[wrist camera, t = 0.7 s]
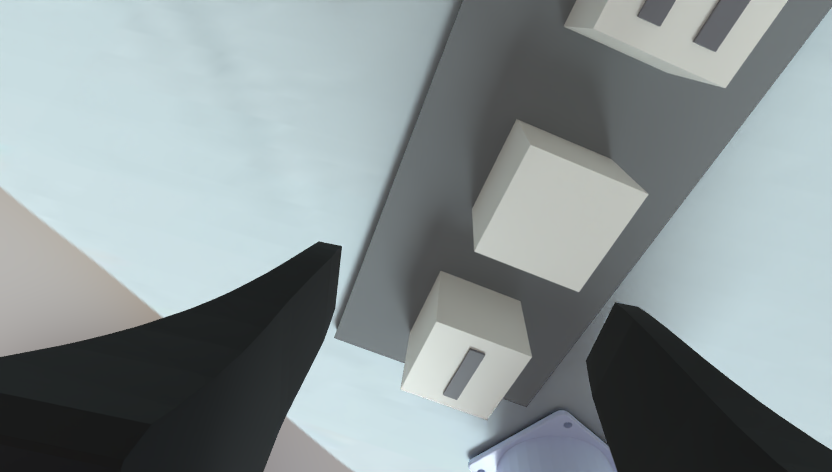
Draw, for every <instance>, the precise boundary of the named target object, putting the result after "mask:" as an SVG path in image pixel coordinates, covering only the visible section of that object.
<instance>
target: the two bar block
mask: <svg viewBox="0 0 832 472" xmlns="http://www.w3.org/2000/svg"><path fill="white" fill-rule="evenodd" d="M787 1H788V0H576V2H575V4H574V6H573V8H572V10H571V12H570V14H569V16H568V18H567V20H566V22H565V24H564V27H566V28H568V29H570V30H573V31H575V32H577V33H579V34H581V35H584V36H586V37H588V38H590V39H593V40H595V41H597V42H599V43H602V44H604V45H606V46H608V47H610V48H613V49H615V50H617V51H619V52H622V53H624V54H626V55H628V56H631V57H633V58H635V59H637V60H639V61H642V62H644V63H646V64H648V65H651V66H653V67H655V68H657V69H660V70H662V71H664V72H666V73H669V74H673V75H677V76H681V77H685V78H688V79H692V80H696V81H700V82H704V83H707V84H711V85H715V86H719V87H722V88H726V87H727V85H728V84H729V82H730V81H731V80H732V78H733V77H734V75H735V74H736V73H737V71H738V70H739V68H740V67H741V66H742V64H743V63H744V61H745V60H746V59H747V57H748V56H749V54H750V53H751V52H752V50H753V49H754V47H755V46H756V45H757V43H758V42H759V40H760V39H761V38H762V36H763V35H764V33H765V32H766V31H767V29H768V28H769V26H770V25H771V24H772V22H773V21H774V19H775V18H776V17H777V15H778V14H779V12H780V11H781V10H782V8H783V7H784V5H785V4H786V3H787Z"/></svg>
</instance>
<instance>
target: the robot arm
mask: <svg viewBox="0 0 832 472" xmlns="http://www.w3.org/2000/svg"><path fill="white" fill-rule="evenodd" d="M341 250H342V246H338V245H333V244H329V243H324V242H317V243H316V244H314V245H312V246H311V247H309V248H307V249H306V250H304V251H303V252H301V253H299V254H298V255H296V256H295V257H293V258H291V259H290V260H288V261H286V262H285V263H283V264H281V265H280V266H278V267H276V268H275V269H273V270H271V271H270V272H268V273H266V274H264V275H262V276H260V277H258V278H257V279H255V280H253V281H251V282H249V283H247V284H245V285H243V286H241V287H239V288H237V289H235V290H233V291H231V292H229V293H227V294H225V295H223V296H220V297H218V298H216V299H213V300H211V301H208V302H206V303H204V304H201V305H199V306H196V307H194V308H191V309H188V310H186V311H183V312H180V313H177V314H174V315H171V316H168V317H165V318H162V319H159V320H156V321H153V322H150V323H147V324H144V325H141V326H137V327H134V328H130V329H126V330H123V331H119V332H116V333H112V334H108V335H104V336H100V337H96V338H92V339H88V340H84V341H79V342H75V343H70V344H66V345H61V346H56V347H51V348H46V349H40V350H35V351H30V352H25V353H20V354H14V355H9V356H4V357H0V472H263V471H264V468H265V466H266V463H267V461H268V458H269V456H270V453H271V450H272V448H273V445H274V443H275V440H276V438H277V435H278V433H279V430H280V428H281V425H282V423H283V421H284V419H285V417H286V415H287V413H288V411H289V409H290V407H291V405H292V403H293V401H294V399H295V397H296V395H297V393H298V391H299V389H300V387H301V385H302V383H303V381H304V379H305V377H306V375H307V373H308V371H309V369H310V367H311V365H312V363H313V361H314V359H315V357H316V355H317V353H318V351H319V349H320V347H321V345H322V343H323V341H324V339H325V336H326V333H327V330H328V328H329V325H330V322H331V319H332V316H333V313H334V310H335V305H336V296H337V286H338V277H339V268H340V259H341ZM586 363H587V370H588V376H589V382H590V387H591V392H592V397H593V400H594V403H595V406H596V410H597V413H598V416H599V419H600V422H601V425H602V428H603V431H604V434H605V437H606V440H607V443H608V445H607V444H606V443H604V442H603V441H602V440H601V439H600V438H598V437H597V436H596V435H595V434H594V433H592V432H591V431H590V430H589V429H588V428H586V427H585V426H584V425H583V424H582V423H580V422H579V421H578V420H577V419H576V418H574V417H573V416H572V415H571V414H570V413H569V412H567V411H564V410H558V411H556V412H554V413H552V414H551V415H549V416H547V417H545V418H543V419H542V420H540V421H538V422H536V423H535V424H533V425H531V426H529V427H527V428H526V429H524V430H522V431H520V432H518V433H517V434H515V435H513V436H511V437H510V438H508V439H506V440H504V441H502V442H501V443H499V444H497V445H495V446H494V447H492V448H490V449H488V450H486V451H485V452H483V453H481V454H479V455H477V456H476V457H474V458H472V459H470V460H469V462H468V467H469V469H470V470H471V471H472V472H832V450H831V449H829V448H827V447H826V446H824V445H823V444H821V443H819V442H818V441H816V440H815V439H813V438H812V437H810V436H809V435H807V434H806V433H804V432H803V431H801V430H800V429H798V428H797V427H795V426H794V425H792V424H791V423H789V422H788V421H786V420H785V419H784V418H782V417H781V416H779V415H778V414H776V413H775V412H773V411H772V410H771V409H769V408H768V407H766V406H765V405H764V404H762V403H761V402H759V401H758V400H757V399H755V398H754V397H753V396H751V395H750V394H749V393H747V392H746V391H745V390H743V389H742V388H741V387H740V386H738V385H737V384H736V383H734V382H733V381H732V380H730V379H729V378H728V377H726V376H725V375H724V374H723V373H721V372H720V371H719V370H718V369H716V368H715V367H714V366H713V365H711V364H710V363H709V362H708V361H706V360H705V359H704V358H703V357H701V356H700V355H699V354H698V353H697V352H695V351H694V350H693V349H692V348H690V347H689V346H688V345H687V344H686V343H684V342H683V341H682V340H681V339H680V338H678V337H677V336H676V335H675V334H673V333H672V332H671V331H670V330H669V329H667V328H666V327H665V326H664V325H662V324H661V323H660V322H658V321H657V320H656V319H655V318H653V317H652V316H651V315H649V314H648V313H646V312H645V311H643V310H642V309H640V308H639V307H635V306H630V305H625V304H621V303H616V302H615V304H614V306H613V308H612V310H611V312H610V314H609V316H608V318H607V320H606V322H605V324H604V326H603V328H602V330H601V332H600V334H599V336H598V338H597V340H596V342H595V344H594V346H593V348H592V350H591V352H590V354H589V356H588V358H587V360H586ZM566 422H568V423H566Z"/></svg>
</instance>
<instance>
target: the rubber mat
mask: <svg viewBox="0 0 832 472" xmlns="http://www.w3.org/2000/svg"><path fill="white" fill-rule="evenodd" d="M575 2H576V0H463V1H462V4H461V7H460V9H459V12H458V14H457V17H456V20H455V22H454V25H453V27H452V30H451V33H450V35H449V38H448V41H447V43H446V46H445V48H444V51H443V54H442V56H441V59H440V62H439V64H438V67H437V69H436V72H435V75H434V77H433V80H432V83H431V85H430V88H429V90H428V93H427V96H426V98H425V101H424V103H423V106H422V109H421V111H420V114H419V117H418V119H417V122H416V124H415V127H414V130H413V132H412V135H411V138H410V140H409V143H408V145H407V148H406V151H405V153H404V156H403V158H402V161H401V164H400V166H399V169H398V172H397V174H396V177H395V179H394V182H393V185H392V187H391V190H390V193H389V195H388V198H387V200H386V203H385V206H384V208H383V211H382V213H381V216H380V219H379V221H378V224H377V227H376V229H375V232H374V234H373V237H372V240H371V242H370V245H369V248H368V250H367V253H366V255H365V258H364V261H363V263H362V266H361V269H360V271H359V274H358V276H357V279H356V282H355V284H354V287H353V289H352V292H351V295H350V297H349V300H348V303H347V305H346V308H345V310H344V313H343V316H342V318H341V321H340V324H339V326H338V329H337V331H336V334H335V337H334V338H336V339H339V340H341V341H344V342H347V343H350V344H352V345H355V346H358V347H361V348H364V349H366V350H369V351H372V352H375V353H378V354H380V355H383V356H386V357H389V358H391V359H394V360H397V361H400V362H403V363H405V359H406V353H407V347H408V341H409V335H410V332H411V329H412V327H413V325H414V323H415V321H416V319H417V317H418V315H419V313H420V311H421V309H422V307H423V305H424V303H425V301H426V299H427V297H428V295H429V293H430V291H431V289H432V287H433V285H434V283H435V281H436V279H437V277H438V275H439V273H440V271H443V272H446V273H448V274H451V275H453V276H456V277H459V278H461V279H464V280H466V281H469V282H472V283H474V284H477V285H480V286H482V287H485V288H487V289H490V290H493V291H495V292H498V293H500V294H503V295H506V296H508V297H511V298H514V299H516V300H519V301H521V306H522V311H523V316H524V321H525V325H526V330H527V335H528V340H529V345H530V350H531V354H532V358H531V359H530V361H529V362H528V363H527V365H526V366H525V368H524V369H523V370H522V372H521V373H520V375H519V376H518V377H517V379H516V380H515V382H514V383H513V384H512V386H511V387H510V389H509V390H508V392H507V393H506V394H505V396H504V397H503V399H505V400H508V401H511V402H514V403H517V404H519V405H522V406H525V407H527V406H528V404H529V403H530V402H531V400H532V399H533V398H534V396H535V395H536V394H537V393H538V391H539V390H540V389H541V387H542V386H543V385H544V383H545V382H546V381H547V379H548V378H549V377H550V375H551V374H552V373H553V372H554V370H555V369H556V368H557V366H558V365H559V364H560V362H561V361H562V360H563V358H564V357H565V356H566V355H567V353H568V352H569V351H570V349H571V348H572V347H573V345H574V344H575V343H576V341H577V340H578V339H579V337H580V336H581V335H582V334H583V332H584V331H585V330H586V328H587V327H588V326H589V324H590V323H591V322H592V320H593V319H594V318H595V317H596V315H597V314H598V313H599V311H600V310H601V309H602V307H603V306H604V305H605V303H606V302H607V301H608V300H609V298H610V297H611V296H612V294H613V293H614V292H615V290H616V289H617V288H618V286H619V285H620V284H621V282H622V281H623V280H624V279H625V277H626V276H627V275H628V273H629V272H630V271H631V269H632V268H633V267H634V265H635V264H636V263H637V262H638V260H639V259H640V258H641V256H642V255H643V254H644V252H645V251H646V250H647V248H648V247H649V246H650V244H651V243H652V242H653V241H654V239H655V238H656V237H657V235H658V234H659V233H660V231H661V230H662V229H663V227H664V226H665V225H666V224H667V222H668V221H669V220H670V218H671V217H672V216H673V214H674V213H675V212H676V210H677V209H678V208H679V207H680V205H681V204H682V203H683V201H684V200H685V199H686V197H687V196H688V195H689V193H690V192H691V191H692V189H693V188H694V187H695V186H696V184H697V183H698V182H699V180H700V179H701V178H702V176H703V175H704V174H705V172H706V171H707V170H708V169H709V167H710V166H711V165H712V163H713V162H714V161H715V159H716V158H717V157H718V155H719V154H720V153H721V151H722V150H723V149H724V148H725V146H726V145H727V144H728V142H729V141H730V140H731V138H732V137H733V136H734V134H735V133H736V132H737V131H738V129H739V128H740V127H741V125H742V124H743V123H744V121H745V120H746V119H747V117H748V116H749V115H750V113H751V112H752V111H753V110H754V108H755V107H756V106H757V104H758V103H759V102H760V100H761V99H762V98H763V96H764V95H765V94H766V93H767V91H768V90H769V89H770V87H771V86H772V85H773V83H774V82H775V81H776V79H777V78H778V77H779V76H780V74H781V73H782V72H783V70H784V69H785V68H786V66H787V65H788V64H789V62H790V61H791V60H792V58H793V57H794V56H795V55H796V53H797V52H798V51H799V49H800V48H801V47H802V45H803V44H804V43H805V41H806V40H807V39H808V38H809V36H810V35H811V34H812V32H813V31H814V30H815V28H816V27H817V26H818V24H819V23H820V22H821V20H822V19H823V18H824V17H825V15H826V14H827V13H828V11H829V10H830V9H831V7H832V0H788V1H787V3H786V4H785V5H784V7H783V8H782V10H781V11H780V12H779V14H778V15H777V17H776V18H775V19H774V21H773V22H772V24H771V25H770V26H769V28H768V29H767V31H766V32H765V33H764V35H763V36H762V38H761V39H760V40H759V42H758V43H757V45H756V46H755V47H754V49H753V50H752V52H751V53H750V54H749V56H748V57H747V59H746V60H745V61H744V63H743V64H742V66H741V67H740V68H739V70H738V71H737V73H736V74H735V75H734V77H733V78H732V80H731V81H730V82H729V84H728V85H727V87H726V88H722V87H719V86H715V85H711V84H707V83H704V82H700V81H696V80H692V79H688V78H685V77H681V76H677V75H673V74H669V73H666V72H664V71H662V70H660V69H657V68H655V67H653V66H651V65H648V64H646V63H644V62H642V61H639V60H637V59H635V58H633V57H631V56H628V55H626V54H624V53H622V52H619V51H617V50H615V49H613V48H610V47H608V46H606V45H604V44H602V43H599V42H597V41H595V40H593V39H590V38H588V37H586V36H584V35H581V34H579V33H577V32H575V31H573V30H570V29H568V28H566V27H564V24H565V22H566V20H567V18H568V16H569V14H570V12H571V10H572V8H573V6H574V4H575ZM516 119H518V120H520V121H522V122H525V123H527V124H529V125H532V126H534V127H537V128H539V129H541V130H544V131H546V132H548V133H551V134H553V135H555V136H558V137H560V138H563V139H565V140H567V141H570V142H572V143H574V144H577V145H579V146H581V147H584V148H586V149H589V150H591V151H593V152H596V153H598V154H600V155H603V156H605V157H608V158H610V159H612V160H613V161H614V162H615V163H616V164H617V165H618V166H619V167H620V168H621V169H622V170H624V171H625V172H626V173H627V174H628V175H629V176H630V177H631V178H632V179H633V180H634V181H635V182H636V183H637V184H638V185H640V186H641V187H642V188H643V189H644V190H645V191H646V192H647V193H648V194H649V195H648V196H647V197H646V199H645V200H644V202H643V203H642V204H641V206H640V207H639V209H638V210H637V211H636V213H635V214H634V216H633V217H632V218H631V220H630V221H629V223H628V224H627V225H626V227H625V228H624V230H623V231H622V232H621V234H620V235H619V237H618V238H617V239H616V241H615V242H614V244H613V245H612V247H611V248H610V249H609V251H608V252H607V254H606V255H605V256H604V258H603V259H602V261H601V262H600V263H599V265H598V266H597V268H596V269H595V270H594V272H593V273H592V275H591V276H590V277H589V279H588V280H587V282H586V283H585V284H584V286H583V287H582V289H581V290H580V291H579V292H577V291H574V290H572V289H569V288H567V287H564V286H562V285H559V284H556V283H554V282H551V281H549V280H546V279H544V278H541V277H538V276H536V275H533V274H531V273H528V272H526V271H523V270H520V269H518V268H515V267H513V266H510V265H508V264H505V263H503V262H500V261H497V260H495V259H492V258H490V257H487V256H485V255H482V254H479V253H477V252H474V238H473V220H472V208H473V206H474V204H475V202H476V200H477V198H478V196H479V194H480V192H481V190H482V188H483V186H484V184H485V182H486V180H487V178H488V176H489V174H490V172H491V170H492V168H493V166H494V164H495V162H496V160H497V157H498V155H499V153H500V151H501V149H502V147H503V145H504V143H505V141H506V139H507V137H508V135H509V133H510V131H511V129H512V127H513V125H514V123H515V121H516Z"/></svg>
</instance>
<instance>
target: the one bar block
mask: <svg viewBox="0 0 832 472" xmlns="http://www.w3.org/2000/svg"><path fill="white" fill-rule="evenodd" d="M531 358H532V354H531V350H530V345H529V340H528V335H527V330H526V325H525V321H524V316H523V311H522V306H521V301H519V300H516V299H514V298H511V297H508V296H506V295H503V294H500V293H498V292H495V291H493V290H490V289H487V288H485V287H482V286H480V285H477V284H474V283H472V282H469V281H466V280H464V279H461V278H459V277H456V276H453V275H451V274H448V273H446V272H443V271H440V273H439V275H438V277H437V279H436V281H435V283H434V285H433V287H432V289H431V291H430V293H429V295H428V297H427V299H426V301H425V303H424V305H423V307H422V309H421V311H420V313H419V315H418V317H417V319H416V321H415V323H414V325H413V327H412V329H411V332H410V335H409V341H408V347H407V353H406V359H405V365H404V371H403V377H402V383H401V389H400V390H403V391H406V392H408V393H411V394H414V395H417V396H420V397H423V398H425V399H428V400H431V401H434V402H437V403H440V404H442V405H445V406H448V407H451V408H454V409H457V410H459V411H462V412H465V413H468V414H471V415H474V416H476V417H479V418H482V419H485V420H488V418H489V417H490V415H491V414H492V413H493V411H494V410H495V408H496V407H497V406H498V404H499V403H500V401H501V400H502V399H503V397H504V396H505V394H506V393H507V392H508V390H509V389H510V387H511V386H512V384H513V383H514V382H515V380H516V379H517V377H518V376H519V375H520V373H521V372H522V370H523V369H524V368H525V366H526V365H527V363H528V362H529V361H530V359H531Z"/></svg>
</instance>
